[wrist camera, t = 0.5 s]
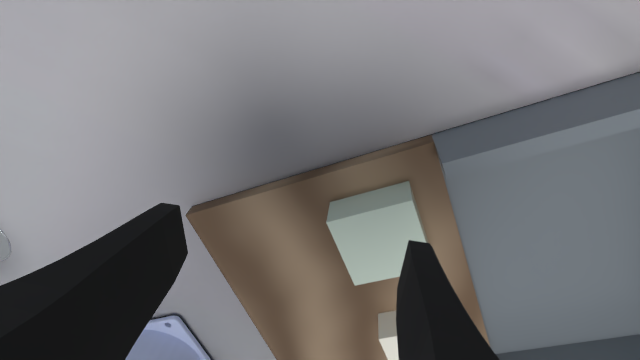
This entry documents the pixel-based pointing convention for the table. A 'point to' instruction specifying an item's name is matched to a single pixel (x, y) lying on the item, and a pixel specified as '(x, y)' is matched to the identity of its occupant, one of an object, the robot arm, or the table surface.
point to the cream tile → (388, 334)
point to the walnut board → (326, 253)
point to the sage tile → (375, 231)
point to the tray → (553, 222)
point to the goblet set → (4, 246)
